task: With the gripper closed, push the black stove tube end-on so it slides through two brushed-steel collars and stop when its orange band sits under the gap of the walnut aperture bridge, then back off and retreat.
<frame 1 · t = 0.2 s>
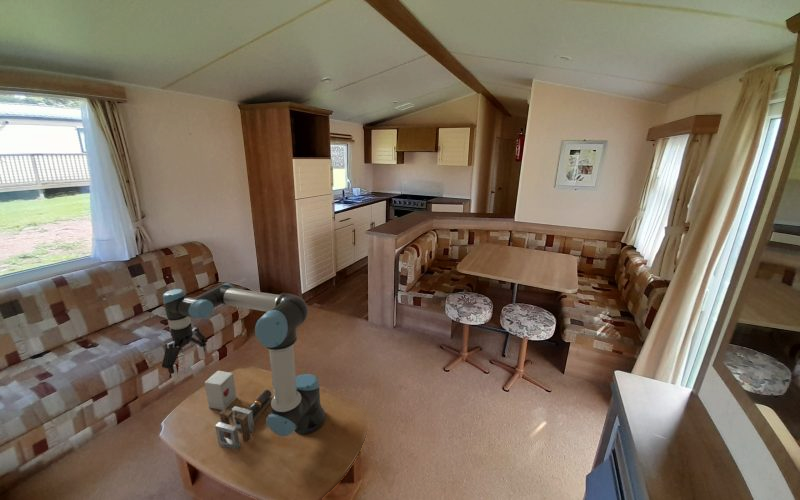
hand: (189, 368, 139), 28 cm above the table, fingers open, 13 cm apart
collar b: (229, 445, 134), on the table
supplement box: (223, 402, 157), on the table
collar a: (244, 428, 143), on the table
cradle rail: (260, 411, 152), on the table
aperture bridge: (237, 437, 138), on the table
tube: (257, 405, 149), point 5 cm above the table, slide at 0.0 cm
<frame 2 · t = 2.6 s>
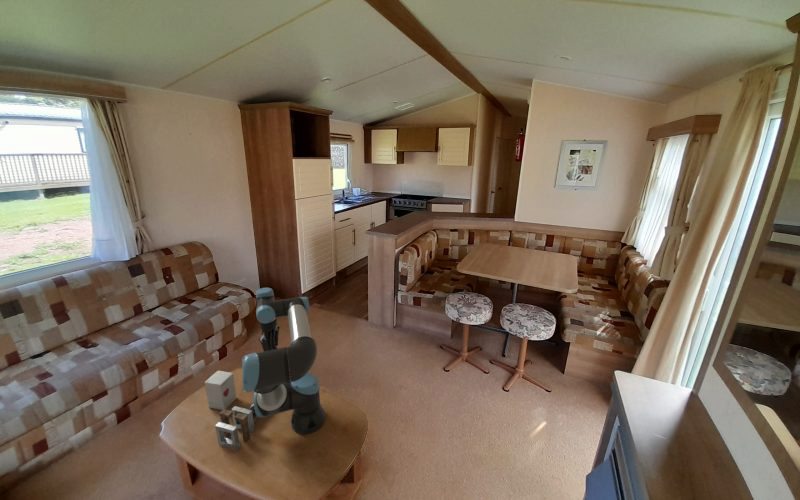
hand: (272, 361, 158), 19 cm above the table, fingers closed
nothing on the table moved.
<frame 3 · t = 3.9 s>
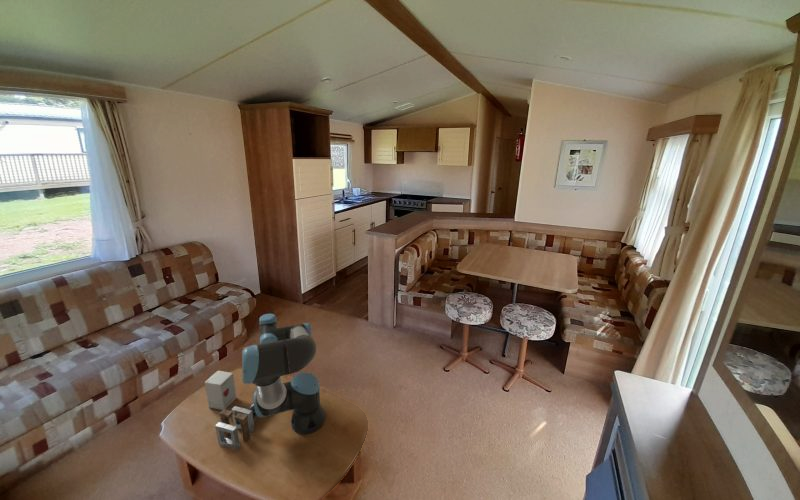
hand: (275, 384, 162), 6 cm above the table, fingers closed
nothing on the table moved.
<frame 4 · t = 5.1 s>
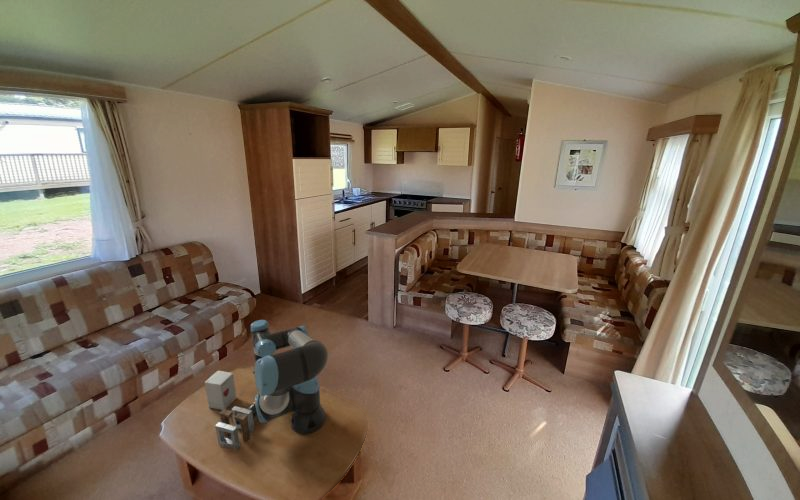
hand: (268, 392, 157), 5 cm above the table, fingers closed
tube: (255, 406, 149), point 5 cm above the table, slide at 0.7 cm, touching gripper
everything else where it was.
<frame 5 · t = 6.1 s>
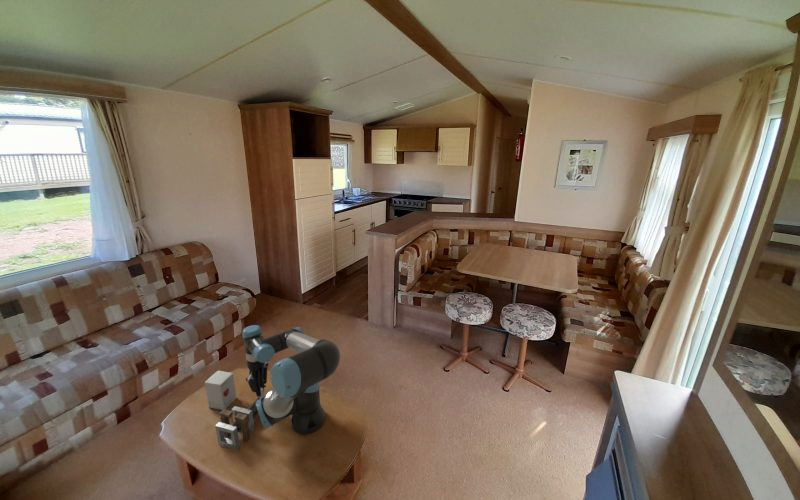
hand: (261, 399, 152), 5 cm above the table, fingers closed
tube: (248, 414, 144), point 5 cm above the table, slide at 5.6 cm, touching gripper
everything else where it was.
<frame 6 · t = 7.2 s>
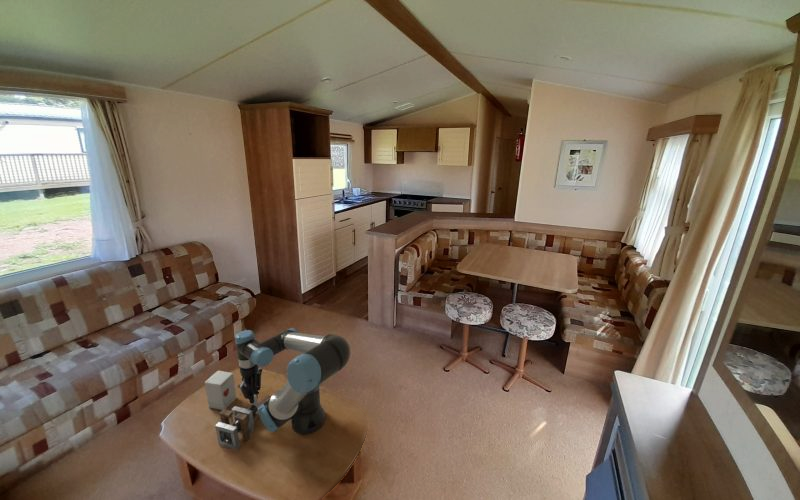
hand: (254, 406, 148), 5 cm above the table, fingers closed
tube: (241, 421, 140), point 5 cm above the table, slide at 10.1 cm, touching gripper
everything else where it was.
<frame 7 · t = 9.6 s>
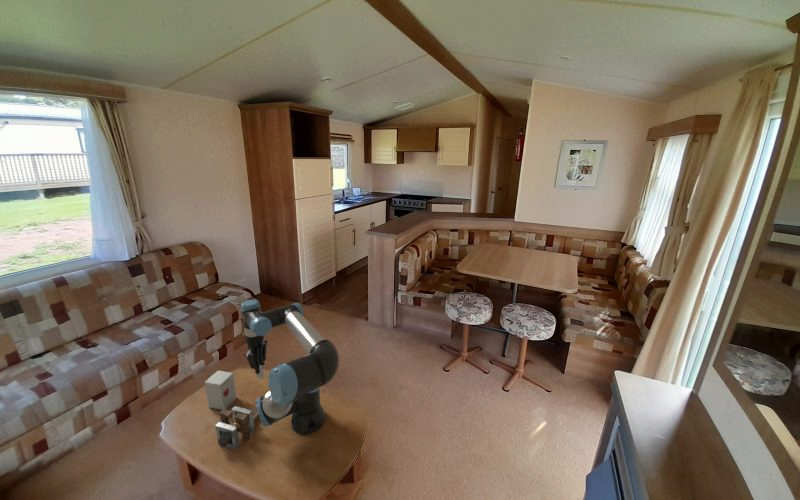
hand: (260, 377, 149), 17 cm above the table, fingers closed
tube: (236, 427, 137), point 5 cm above the table, slide at 13.2 cm
everything else where it was.
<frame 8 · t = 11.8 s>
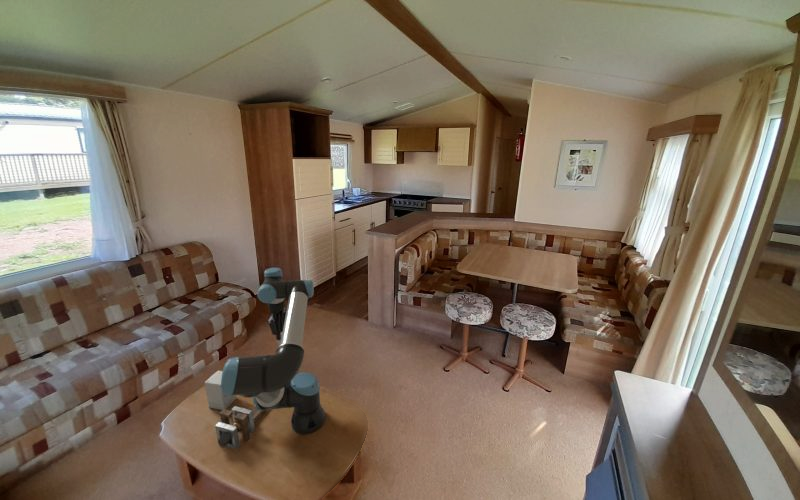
hand: (280, 344, 155), 29 cm above the table, fingers closed
nothing on the table moved.
at the end: tube slide at 13.2 cm; tube touching nothing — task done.
